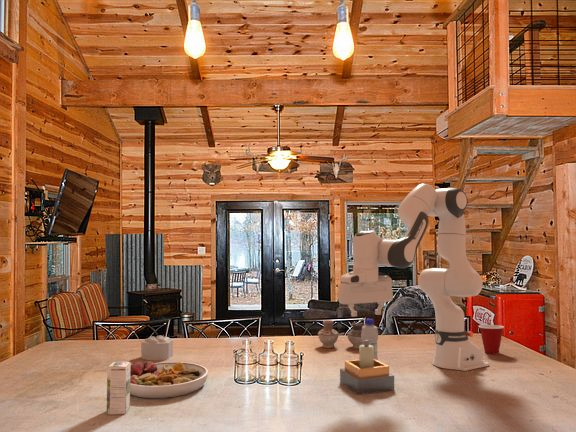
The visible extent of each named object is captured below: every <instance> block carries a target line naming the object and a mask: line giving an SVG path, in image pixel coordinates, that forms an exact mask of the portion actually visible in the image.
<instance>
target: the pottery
mask: <svg viewBox="0 0 576 432" xmlns="http://www.w3.org/2000/svg"><path fill="white" fill-rule="evenodd" d="M322 324H323V328H322V329H320V330H319V331H318V332H317V337H318V339H319V341H320V343H322V346H321V347H322V348H326V349H331V348H332V349H333V348H335V344H336V342H337V341H338V339H339V335H340V334H339V331H337V330H336V329H334V328H333V326H334V321H333V320H323V321H322ZM363 326H365V323H352V329H351V330H349V331H348V332H347V333H346V337H347V339H348V341H349V343H350V344H352V348H354V349H359V346H360V345H362V339H361V333H362V327H363Z"/></svg>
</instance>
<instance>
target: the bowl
mask: <svg viewBox="0 0 576 432" xmlns="http://www.w3.org/2000/svg"><path fill="white" fill-rule="evenodd" d="M143 363H144V362H142V361H135V362H133V363H131V364H130V396H131V395H132V396H135V397H138V398H144V399H145V398H146V399H168V397H169V398H176V397H180V395H181V396H184V395H188V394H191V393H193V392H195V391H197V390H200V388H201V387H203V386H204V385H205V383H206V381H207V379H208V376H209V371H208V370H209V369H207V367H205V366H204V365H201V364H197V363H194V362H192V363H191V362H185V361H166V362H165V361H164V362H156V363H155V362H154V361H153V360H146V362H145V363H144V364H143ZM175 396H176V397H175Z"/></svg>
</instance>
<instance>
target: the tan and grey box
mask: <svg viewBox="0 0 576 432" xmlns="http://www.w3.org/2000/svg"><path fill="white" fill-rule="evenodd" d="M339 383H340V384H341V385H343V386H345V387H346V388H348V390H350V391H352V392H353V393H355V395H365V394H366V395H367V394H373V393H374V394H375V393H382V392H391V391H395V375H394V374H392V373H391V372H390V365H387V364H385V363H383V362H382V361H380V360H379V359H378V360H376V359H374V367H368V368H360V367H359V359H350V360H344V367H343V368H339Z"/></svg>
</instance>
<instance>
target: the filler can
mask: <svg viewBox="0 0 576 432" xmlns="http://www.w3.org/2000/svg"><path fill="white" fill-rule="evenodd" d="M358 351H359V359H358V360H359V367H360V368H368V367H374V346H372V345H369V341H368V340H364V345H360V346H359V350H358Z"/></svg>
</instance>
